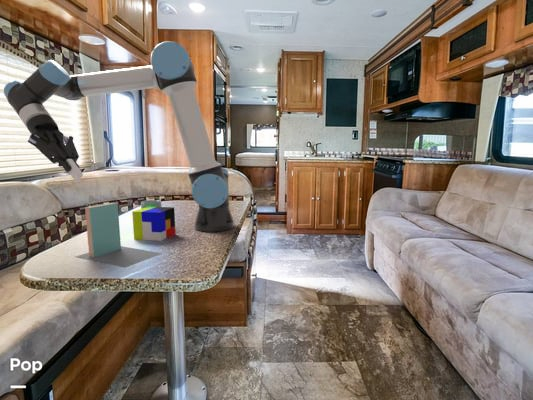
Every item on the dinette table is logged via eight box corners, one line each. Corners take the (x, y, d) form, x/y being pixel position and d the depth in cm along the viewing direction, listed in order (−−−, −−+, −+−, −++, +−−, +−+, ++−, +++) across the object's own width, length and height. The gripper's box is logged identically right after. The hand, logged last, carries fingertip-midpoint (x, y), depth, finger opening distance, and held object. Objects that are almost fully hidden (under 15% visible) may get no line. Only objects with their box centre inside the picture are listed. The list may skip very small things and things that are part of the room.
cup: (142, 224, 135) (141, 200, 134) (162, 223, 138) (161, 199, 136) (141, 229, 128) (140, 203, 126) (162, 227, 130) (161, 202, 129)
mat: (74, 258, 93) (74, 256, 93) (114, 246, 104) (114, 244, 104) (125, 269, 84) (125, 267, 84) (162, 254, 96) (162, 253, 96)
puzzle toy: (161, 242, 109) (159, 212, 108) (134, 240, 111) (132, 211, 110) (175, 234, 119) (174, 207, 118) (150, 233, 121) (148, 206, 120)
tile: (89, 256, 93) (85, 207, 91) (116, 247, 101) (113, 202, 99) (94, 257, 92) (89, 207, 90) (120, 248, 100) (117, 203, 98)
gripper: (56, 132, 110) (93, 184, 105) (12, 130, 98) (52, 188, 93) (64, 115, 106) (104, 168, 102) (20, 110, 95) (62, 170, 90)
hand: (79, 177), depth 97 cm, fingers closed
